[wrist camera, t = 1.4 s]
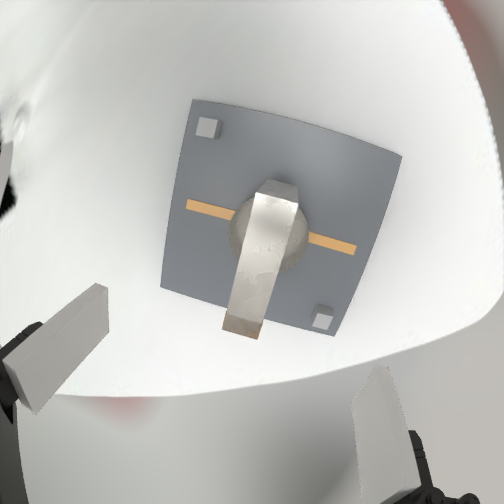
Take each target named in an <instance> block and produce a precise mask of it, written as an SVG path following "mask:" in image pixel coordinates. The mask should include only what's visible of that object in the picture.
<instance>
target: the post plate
mask: <svg viewBox="0 0 504 504" xmlns="http://www.w3.org/2000/svg"><path fill="white" fill-rule="evenodd" d="M401 160H402V156H401V155H398V154H396V153H393V152H391V151H388V150H386V149H383V148H380V147H378V146H375V145H372V144H370V143H367V142H364V141H361V140H359V139H356V138H353V137H350V136H347V135H344V134H341V133H338V132H335V131H332V130H328V129H325V128H322V127H318V126H315V125H312V124H308V123H305V122H301V121H297V120H293V119H290V118H286V117H282V116H278V115H274V114H269V113H265V112H260V111H256V110H251V109H246V108H241V107H236V106H231V105H226V104H220V103H214V102H208V101H201V100H194V99H193V101H192V105H191V109H190V113H189V117H188V121H187V126H186V130H185V135H184V139H183V144H182V149H181V153H180V158H179V163H178V169H177V174H176V179H175V185H174V190H173V196H172V202H171V208H170V215H169V221H168V228H167V235H166V242H165V250H164V258H163V266H162V275H161V284H160V287H162V288H165V289H168V290H171V291H174V292H177V293H180V294H183V295H186V296H189V297H192V298H195V299H199V300H202V301H205V302H208V303H212V304H215V305H218V306H222V307H225V308H228V304H229V300H230V296H231V292H232V288H233V284H234V279H235V275H236V271H237V267H238V263H239V260H238V259H237V258H236V256H235V255H234V253H233V251H232V249H231V247H230V244H229V239H228V229H229V224H230V221H231V219H232V216H233V215H234V213H235V212H236V210H237V209H238V208H239V207H240V206H241V205H242V204H243V203H244V202H245V201H246V200H248V199H249V198H251V197H253V196H255V194H256V192H257V191H258V189H259V188H260V187H261V186H262V185H263V184H264V183H265V182H266V181H267V179H272V180H275V181H279V182H283V183H286V184H290V185H294V186H297V191H298V206H299V207H300V208H301V210H302V212H303V213H304V215H305V217H306V220H307V225H308V231H309V241H308V246H307V249H306V251H305V253H304V255H303V257H302V258H301V259H300V261H299V262H298V263H297V264H295V265H294V266H293V267H291V268H290V269H288V270H286V271H283V272H280V273H278V274H277V277H276V281H275V284H274V287H273V290H272V293H271V297H270V300H269V303H268V306H267V309H266V312H265V315H264V319H267V320H271V321H274V322H278V323H282V324H286V325H290V326H294V327H298V328H301V329H305V330H309V331H314V332H318V333H322V334H326V335H330V336H335V334H336V332H337V330H338V328H339V326H340V324H341V322H342V320H343V317H344V315H345V313H346V311H347V309H348V306H349V304H350V302H351V300H352V297H353V295H354V293H355V290H356V288H357V286H358V283H359V281H360V279H361V276H362V274H363V271H364V269H365V266H366V264H367V261H368V259H369V256H370V254H371V251H372V248H373V246H374V243H375V240H376V238H377V235H378V232H379V229H380V226H381V224H382V221H383V218H384V215H385V212H386V209H387V206H388V203H389V200H390V197H391V194H392V190H393V187H394V184H395V181H396V177H397V174H398V170H399V167H400V163H401Z"/></svg>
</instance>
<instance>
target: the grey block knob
mask: <svg viewBox="0 0 504 504" xmlns="http://www.w3.org/2000/svg"><path fill="white" fill-rule="evenodd" d="M228 239H229V244H230V247H231V249H232V251H233V253H234V255H235V256H236V258H237V259H238V260H239V263H238V267H237V271H236V275H235V279H234V284H233V288H232V292H231V296H230V300H229V304H228V308H227V311H226V314H225V318H224V322H223V327H222V330H226V331H229V332H232V333H236V334H239V335H243V336H246V337H250V338H253V339H258V336H259V333H260V330H261V327H262V324H263V319H264V315H265V312H266V309H267V306H268V303H269V300H270V297H271V293H272V290H273V287H274V284H275V281H276V277H277V274H278V273H280V272H283V271H286V270H288V269H290V268H291V267H293V266H294V265H295V264H297V263H298V262H299V261H300V259H301V258H302V257H303V255H304V253H305V251H306V249H307V246H308V241H309V231H308V225H307V220H306V217H305V215H304V213H303V212H302V210H301V208H300V207H299V206H298V191H297V186H294V185H290V184H286V183H283V182H279V181H275V180H272V179H267V181H266V182H265V183H264V184H263V185H262V186H261V187H260V188H259V189H258V191H257V192H256V194H255V196H253V197H251V198H249V199H248V200H246V201H245V202H244V203H243V204H242V205H241V206H240V207H239V208H238V209H237V210H236V212H235V213H234V215H233V216H232V219H231V221H230V224H229V229H228Z"/></svg>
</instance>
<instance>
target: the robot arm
mask: <svg viewBox="0 0 504 504" xmlns="http://www.w3.org/2000/svg"><path fill="white" fill-rule="evenodd" d="M108 333H109V317H108V288H107V287H105V286H102V285H100V284H97V283H95V284H94V285H92V286H91V287H90V288H88V289H87V290H86V291H84V292H83V293H82V294H81V295H79V296H78V297H77V298H75V299H74V300H73V301H72V302H70V303H69V304H68V305H67V306H65V307H64V308H63V309H62V310H60V311H59V312H58V313H57V314H55V315H54V316H53V317H52V318H50V319H49V320H48V321H47V322H46V323H44V324H43V323H41V322H36V323H34V324H31V325H29V326H28V327H26V328H25V329H24V330H23V331H22V332H21V333H19V334H18V335H17V336H16V338H13V339H12V340H11V341H10V342H8V343H7V344H6V345H5V346H4V347H3V348H1V349H0V504H29V502H28V498H27V494H26V489H25V484H24V478H23V472H22V467H21V459H20V452H19V442H18V429H17V408H16V403H15V401H16V400H17V399H18V398H19V400H20V402H21V404H22V406H23V407H25V408H26V409H27V410H28V411H30V412H31V413H32V414H34V415H37V413H38V412H39V411H40V410H41V409H42V407H43V406H44V405H45V404H46V403H47V401H48V400H49V399H50V398H51V397H52V395H53V394H54V393H55V392H56V391H57V390H58V388H59V387H60V386H61V385H62V384H63V383H64V382H65V380H66V379H67V378H68V377H69V376H70V375H71V374H72V372H73V371H74V370H75V369H76V368H77V367H78V366H79V364H80V363H81V362H82V361H83V360H84V359H85V358H86V357H87V356H88V354H89V353H90V352H91V351H92V350H93V349H94V348H95V347H96V346H97V345H98V343H99V342H100V341H101V340H102V339H103V338H104V337H105V336H106V335H107V334H108ZM351 407H352V413H353V421H354V429H355V437H356V446H357V455H358V465H359V476H360V488H361V504H480V502H479V499H478V498H477V497H476V495H474V494H471V493H467V494H465V495H463V496H462V497H460V498H459V499H456V498H449V497H445V495H444V493H443V492H442V491H441V490H440V489H438V488H436V487H433V484H432V480H431V476H430V472H429V468H428V464H427V460H426V458H425V457H426V456H425V452H424V451H423V445H422V441H421V439H420V437H419V436H418V434H417V433H416V431H414V430H413V431H412V430H408V428H407V424H406V421H405V417H404V414H403V411H402V407H401V404H400V401H399V397H398V394H397V391H396V388H395V385H394V382H393V379H392V376H391V372H390V370H389V367H385V366H379V365H375V366H374V368H373V369H372V371H371V373H370V375H369V376H368V378H367V379H366V380H365V382H364V384H363V385H362V386H361V388H360V389H359V391H358V393H357V394H356V395H355V397H354V398H353V400H352V401H351Z"/></svg>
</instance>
